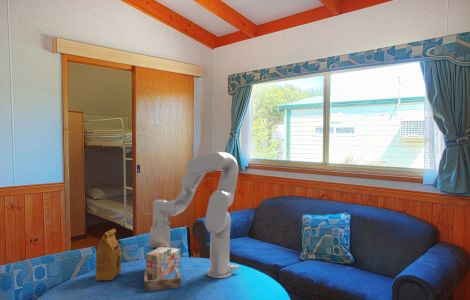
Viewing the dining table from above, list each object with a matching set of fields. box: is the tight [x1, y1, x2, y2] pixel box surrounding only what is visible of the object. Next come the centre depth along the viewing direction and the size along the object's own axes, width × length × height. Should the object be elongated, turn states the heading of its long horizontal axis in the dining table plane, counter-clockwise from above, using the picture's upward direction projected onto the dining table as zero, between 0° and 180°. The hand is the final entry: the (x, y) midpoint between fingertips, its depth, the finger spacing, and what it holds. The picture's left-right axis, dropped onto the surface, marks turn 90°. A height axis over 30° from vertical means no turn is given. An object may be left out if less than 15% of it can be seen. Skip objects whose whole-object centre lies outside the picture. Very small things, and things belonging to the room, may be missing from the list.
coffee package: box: [95, 228, 122, 282], centre depth 159 cm, size 10×12×22 cm
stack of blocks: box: [145, 247, 181, 280], centre depth 166 cm, size 21×6×12 cm, turn 159°
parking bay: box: [143, 268, 182, 292], centre depth 152 cm, size 15×13×4 cm
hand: (159, 259), depth 173 cm, fingers closed
